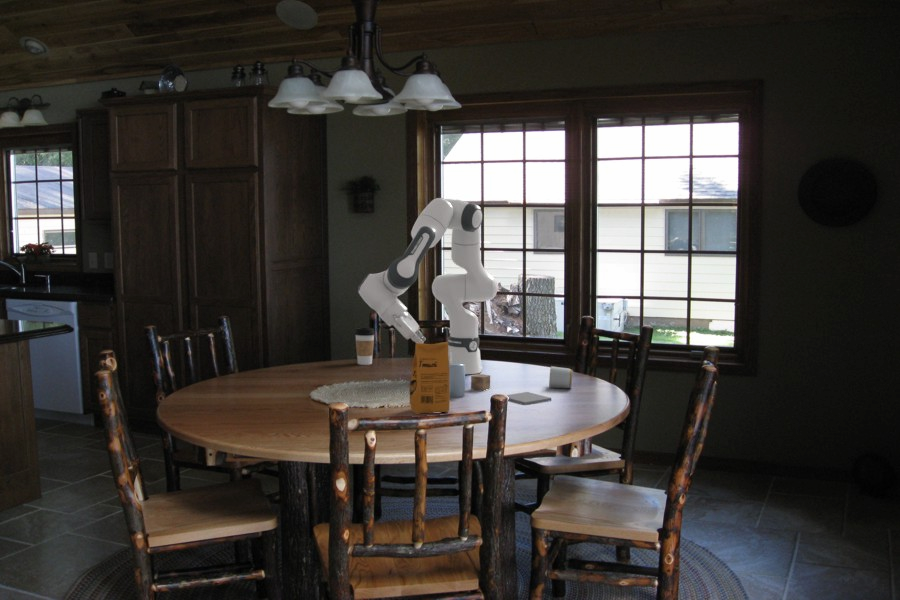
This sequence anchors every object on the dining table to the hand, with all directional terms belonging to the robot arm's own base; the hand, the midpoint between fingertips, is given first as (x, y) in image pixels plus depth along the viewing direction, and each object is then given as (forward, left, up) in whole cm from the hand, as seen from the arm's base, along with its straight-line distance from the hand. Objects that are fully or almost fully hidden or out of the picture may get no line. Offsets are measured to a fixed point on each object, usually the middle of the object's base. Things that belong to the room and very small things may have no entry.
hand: (423, 343), depth 290 cm
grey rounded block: (+17, +50, -18) cm, 55 cm away
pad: (+25, +25, -18) cm, 40 cm away
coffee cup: (-64, +16, -18) cm, 69 cm away
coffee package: (+20, -12, -18) cm, 30 cm away
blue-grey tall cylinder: (+7, +9, -18) cm, 22 cm away
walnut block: (+3, +23, -18) cm, 30 cm away
